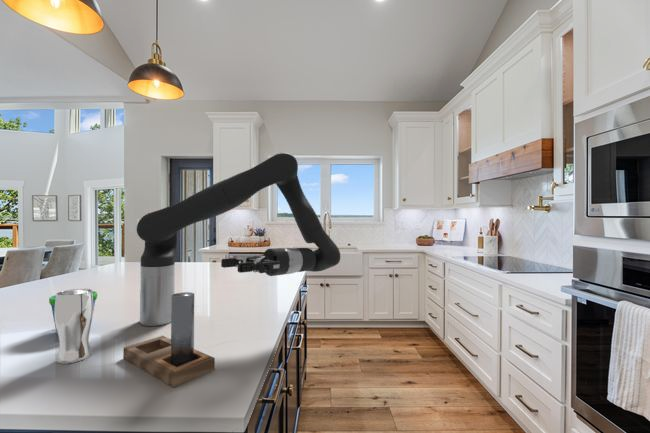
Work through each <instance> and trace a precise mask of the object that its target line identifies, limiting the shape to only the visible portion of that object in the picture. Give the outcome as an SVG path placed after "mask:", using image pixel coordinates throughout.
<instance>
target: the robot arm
mask: <svg viewBox="0 0 650 433" xmlns="http://www.w3.org/2000/svg"><path fill="white" fill-rule="evenodd" d="M298 171H299V164H298V161H297V158H296V157H295V156H294V155H293V154H291V153H289V152H279V153H276V154H274V155H272V156H270V157H268V158H267V159H265V160H264V161H262V162H260V163H258V164H257V165H255V166H253V167H251V168H250V169H247V170H244V171H242V172H239V173H237V174H235V175H232V176H230V177H228V178H226V179H223V180H220V181H219V182H217V183H214V184H212V185H210V186H207V187H205V188H204V189H202V190H200V191H198V192H196V193H194V194H192V195H190V196H189V197H187V198H185V199H184V200H181V201H179V202H177V203H175V204H172V205H169V206H166V207H164V208H161V209H158V210H154V211H151V212H149V213H146V214H145V215H143V216H142V217H141V218H140V219H139V221H138V223H137V225H136V234H137V235H138V237H139V239H141V240H142V241H144V249H143V252H142V255H141V257H140V287H139V288H140V290H139V292H140V293H139V323H140V325H141V326H145V327H154V326H156V327H157V326H162V325H167V324H171V296H172V295H173V294H175V277H176V275H175V268H176V267H175V262H176V261H175V259H176V257H177V256H176V255H177V249H178V232H179V231H181V230H182V229H184V228H186V227H188V226H191V225H193V224H196V223H199V222H202V221H205V220H208V219H212V218H215V217H218V216H220V215H222V214H225V213H226V212H229V211H231V210H233V209H235V208H237V207H239V206H241V205H242V204H243V203H245V202H246V201H248V200H249V199H250V198H252V197H253V196H254V195H255V194H256V193H258V192H259V191H262V190H263V189H266V188H267V187H270V186H272V185H276V186H277V187H278V189H279V190H280V192H281V193H282V195H283V197H284V199H285V200H286V202H287V205H288V206H289V209H290V211H291V213H292V215H293V218H294V221H295V223H296V225H297V228H298V229H299V231H300V234H301V236H302V238H303V240H304V242H305V243H307V244H314V245H315V246H316V247H317V248H316V249H315V250H314V249H311V248H308V247H296V248H295V247H277V248H276V247H275V248H267V249H266V250H265V251H264V252H263V254H262V255H261V254H255V255H252V254H250V255H234V256H232V257H230V258H222V259H221V263H220V264H221V266H220V267H221V268H223V269H225V268H237V272H238V273H240V274H241V273H242V274H243V273H249V272H250V273H251V272H252V273H259V274H266V275H267V276H268V277H276V276H284V275H290V274H295V273H302V272H313V273H314V272H316V273H317V272H322V271H326V270H328V269H331V268H333V267H336V266H337V265H339V263H340V261H341V252H340V249H339V247H338V246H337V244H336V243H335V242H334V241H333V240H332V238H331V237H330V235H328V234H327V233H326V231H325V229H324V227H323V226H322V224H321V221H320V219H319V217H318V215H317V213H316V211H315V209H314V208H313V206H312V205H311V204H310V202H309V200H308V198H307V197H306V195H305V193H304V192H303V189H302V187H301V184H300V180H299V175H298Z"/></svg>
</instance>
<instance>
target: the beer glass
mask: <svg viewBox="0 0 650 433" xmlns="http://www.w3.org/2000/svg"><path fill="white" fill-rule="evenodd" d="M92 291H93V289H92V288H76V289H75V288H73V289H67V290H61V291H58V292H57V293H56V294H55V295H56V300H55V322H54V325H55V324H56V328H55V330H56V329H57V332H56V333H57V337H58V343H59V344H58V345H59V346H58V348H59V349H58V353H57V358H56V362H57V363H58V364H61V365H62V364H63V365H67V364H69V363H70V364H74V363H79V362H81V360H82V361H84V360H86V359H88V358H90V357H91V353H92V352H91V351H92V350H91V347H90V342H89V340H90V333H91V332H90V331H91V327H92V324H93V323H92V322H93V319H94V318H93V316H94V312H93V294H92ZM78 361H79V362H78Z"/></svg>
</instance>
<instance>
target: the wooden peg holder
mask: <svg viewBox="0 0 650 433" xmlns="http://www.w3.org/2000/svg"><path fill="white" fill-rule="evenodd" d="M122 351H123V355H122V356H123V359H124V360H125V361H128V362H129V363H131V364H132V365H134V366H136V367H137V368H140V369H141V370H142V371H144V372H146V373H148V374H149V375H151V376H153V377H155V378H156V379H158V380H160V381H161V382H162V383H164V384H167V385H168V386H170V387H171V388H176V387H179V386H182V385H184V384H186V383H188V382H190V381H193V380H194V379H197V378H199V377H201V376H204V375H206V374H208V373H211V372H212V371H214V370H216V369H215V368H216V366H215V362H216V361H215V359H216V358H215V357H213V356H211V355H209V354H206V353H205V352H202V351H199V350H197V349H195V348H194V361H191V362H188V363H186V364H183V365H181V366H178V367H175V366H173V365H171V338H170V337H167V336H164V335H160V336H157V337H156V336H155V337H153V338H150V339H147V340H146V339H145V340H143V341H140V342H136V343H133V344H130V345H127V346H123V350H122ZM210 371H211V372H210Z"/></svg>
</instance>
